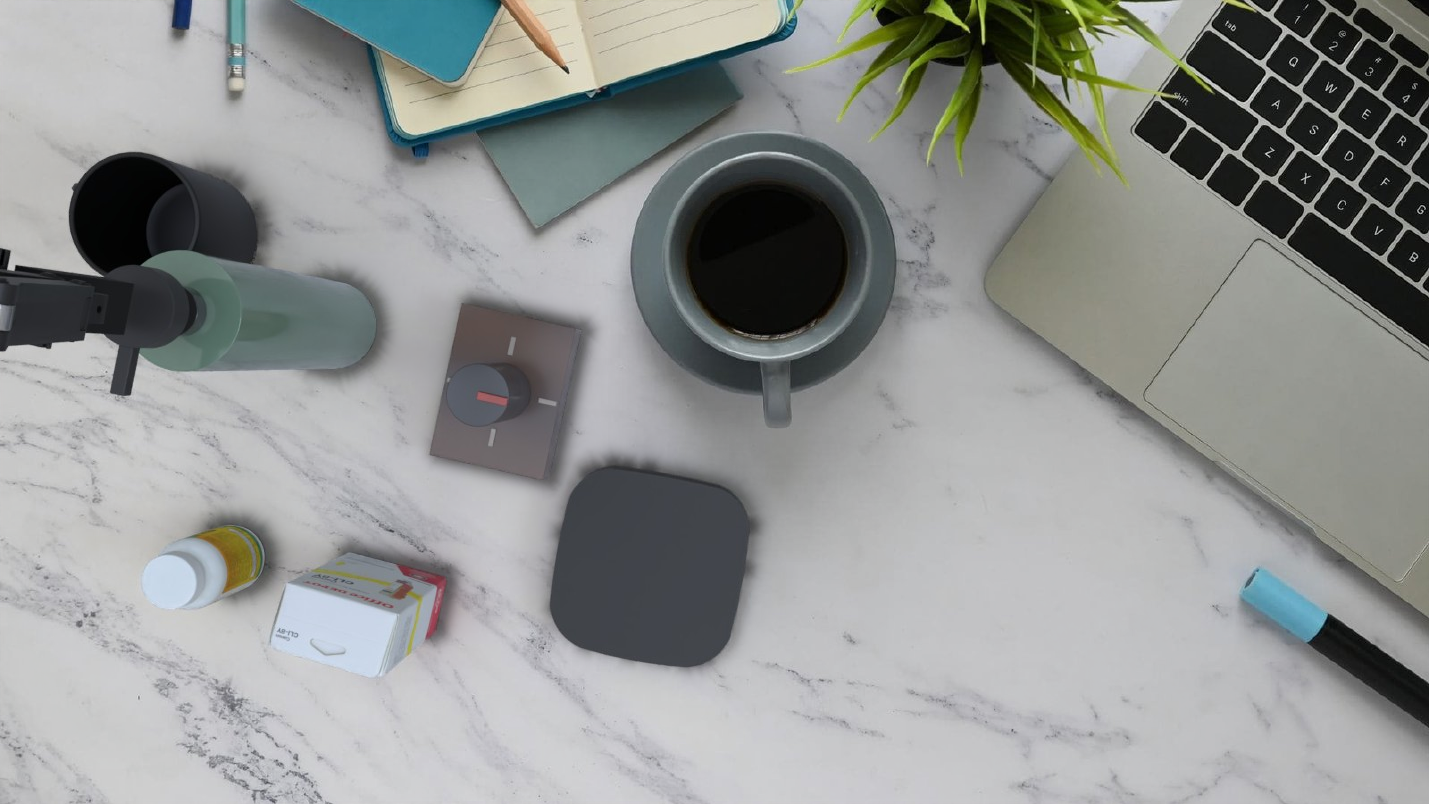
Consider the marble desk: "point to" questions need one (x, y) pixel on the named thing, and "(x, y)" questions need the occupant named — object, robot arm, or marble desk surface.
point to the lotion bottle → (261, 318)
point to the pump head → (146, 319)
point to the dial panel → (548, 370)
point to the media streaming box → (649, 566)
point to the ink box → (357, 614)
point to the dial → (487, 393)
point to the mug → (156, 213)
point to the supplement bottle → (203, 568)
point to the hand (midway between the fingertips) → (114, 306)
